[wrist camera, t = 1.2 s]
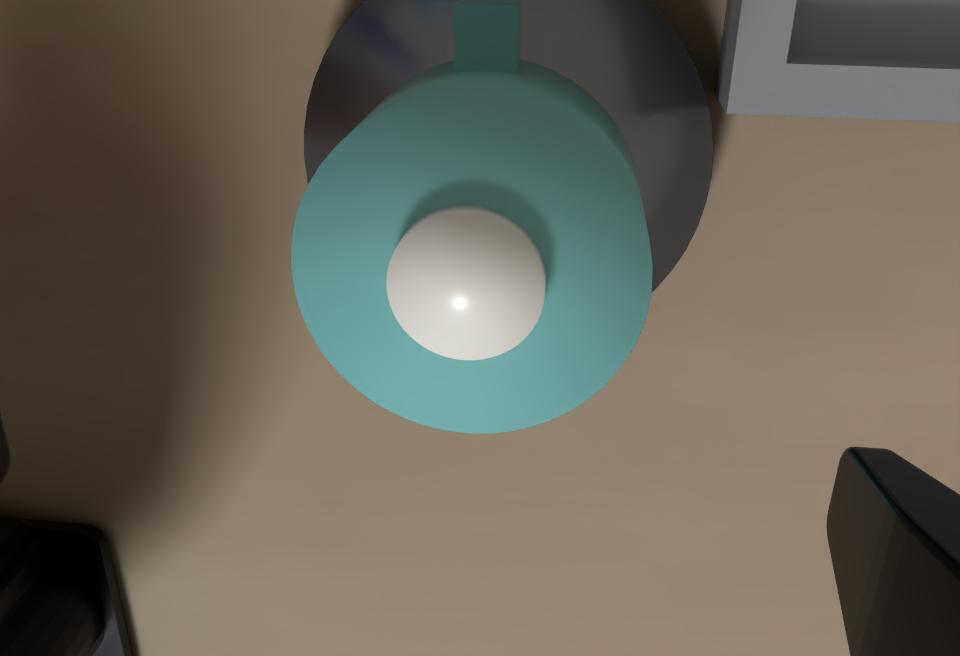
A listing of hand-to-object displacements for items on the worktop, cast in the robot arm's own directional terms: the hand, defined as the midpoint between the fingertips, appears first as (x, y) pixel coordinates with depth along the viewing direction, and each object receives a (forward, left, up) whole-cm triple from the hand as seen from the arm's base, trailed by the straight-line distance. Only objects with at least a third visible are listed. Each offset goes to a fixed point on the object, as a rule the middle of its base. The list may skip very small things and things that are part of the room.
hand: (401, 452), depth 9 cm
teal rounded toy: (0, 0, -8) cm, 8 cm away
